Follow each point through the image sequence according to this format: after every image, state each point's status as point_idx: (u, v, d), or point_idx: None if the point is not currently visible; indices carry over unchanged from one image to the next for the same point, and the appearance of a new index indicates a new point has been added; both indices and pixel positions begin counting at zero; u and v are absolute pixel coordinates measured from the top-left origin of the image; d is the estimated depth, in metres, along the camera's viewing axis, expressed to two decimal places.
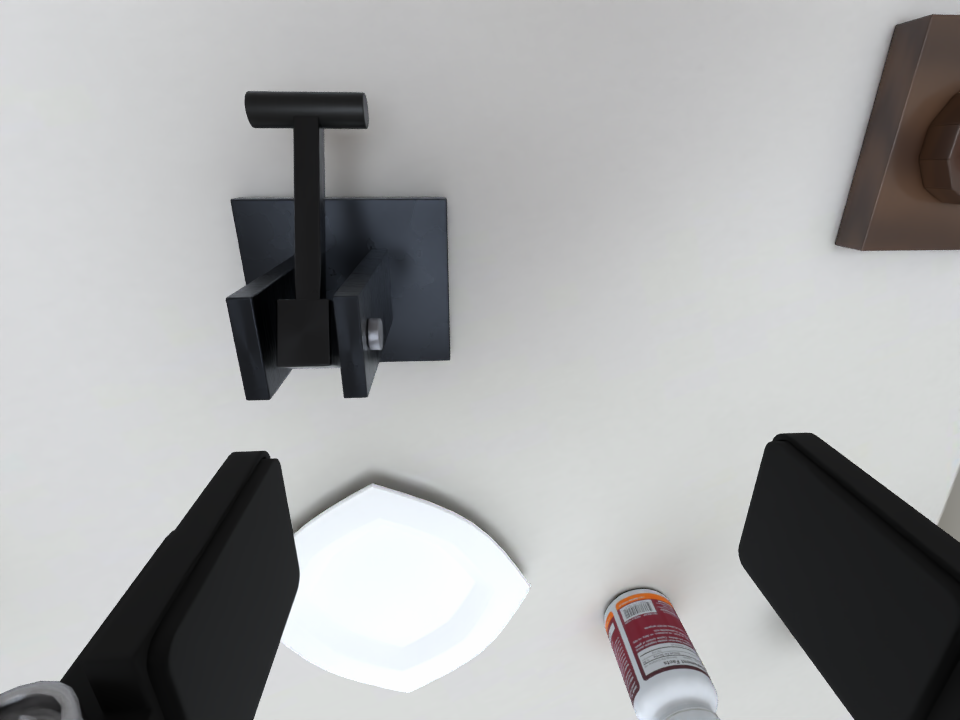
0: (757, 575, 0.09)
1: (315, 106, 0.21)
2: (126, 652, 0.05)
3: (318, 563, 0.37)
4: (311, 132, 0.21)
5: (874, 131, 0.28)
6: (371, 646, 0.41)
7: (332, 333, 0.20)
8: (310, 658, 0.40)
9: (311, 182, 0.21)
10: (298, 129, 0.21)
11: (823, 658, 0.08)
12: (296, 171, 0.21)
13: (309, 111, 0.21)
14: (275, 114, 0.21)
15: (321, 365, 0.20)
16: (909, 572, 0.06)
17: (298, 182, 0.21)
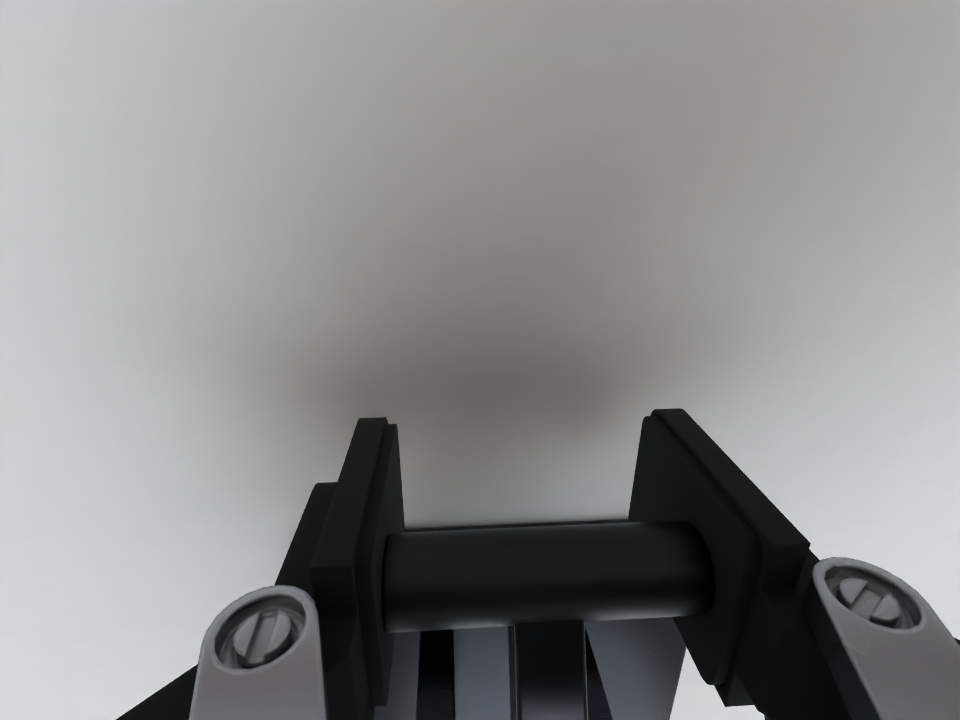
0: None
1: (583, 604, 0.07)
2: (341, 563, 0.06)
3: None
4: (567, 669, 0.07)
5: None
6: None
7: None
8: None
9: None
10: (529, 661, 0.07)
11: None
12: None
13: (563, 614, 0.07)
14: (466, 624, 0.07)
15: None
16: (720, 522, 0.07)
17: None
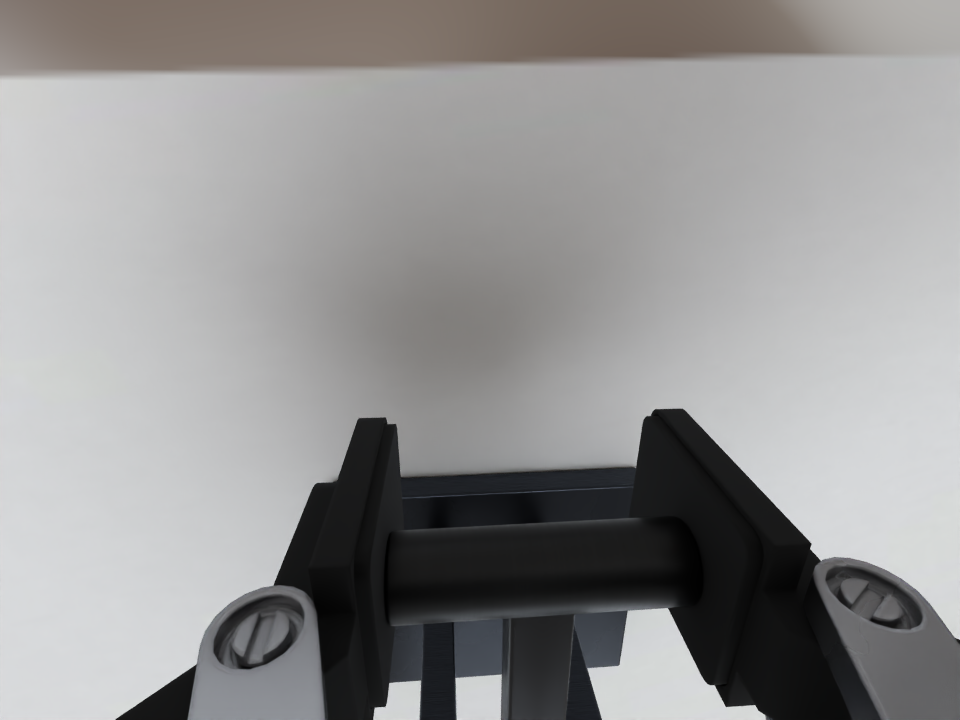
0: None
1: (576, 609, 0.08)
2: (340, 563, 0.06)
3: None
4: (555, 646, 0.08)
5: None
6: None
7: None
8: None
9: None
10: (522, 641, 0.08)
11: (676, 608, 0.09)
12: (514, 716, 0.09)
13: (556, 613, 0.08)
14: None
15: None
16: (721, 522, 0.07)
17: None
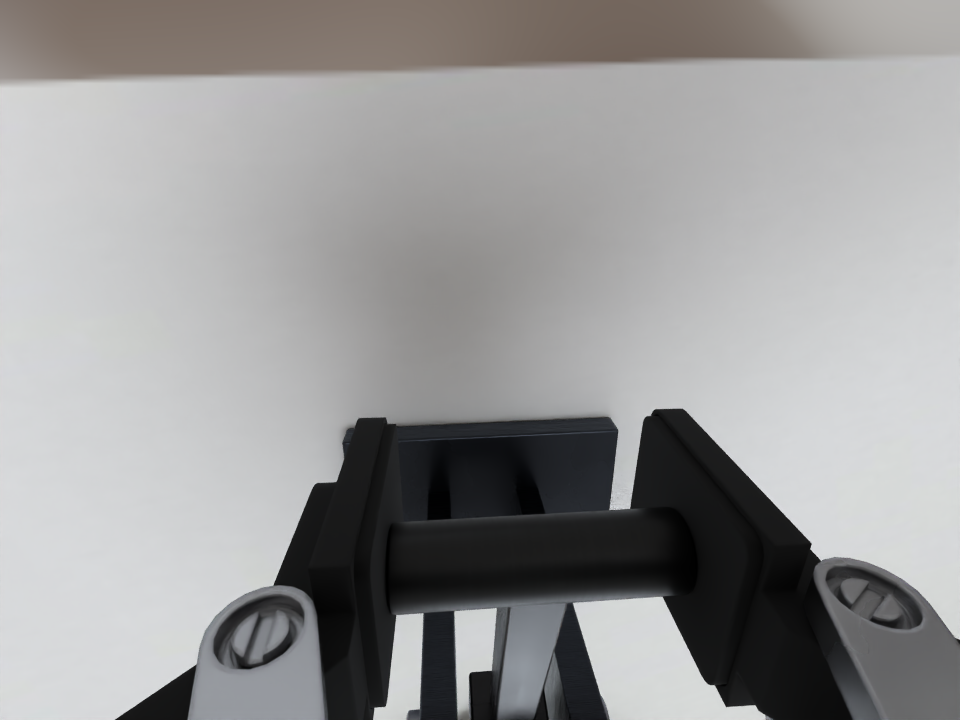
0: None
1: (570, 602, 0.08)
2: (340, 563, 0.06)
3: None
4: (548, 618, 0.09)
5: None
6: None
7: None
8: None
9: (536, 665, 0.10)
10: (518, 615, 0.09)
11: (676, 608, 0.09)
12: (507, 657, 0.10)
13: None
14: None
15: None
16: (721, 522, 0.07)
17: (509, 665, 0.10)
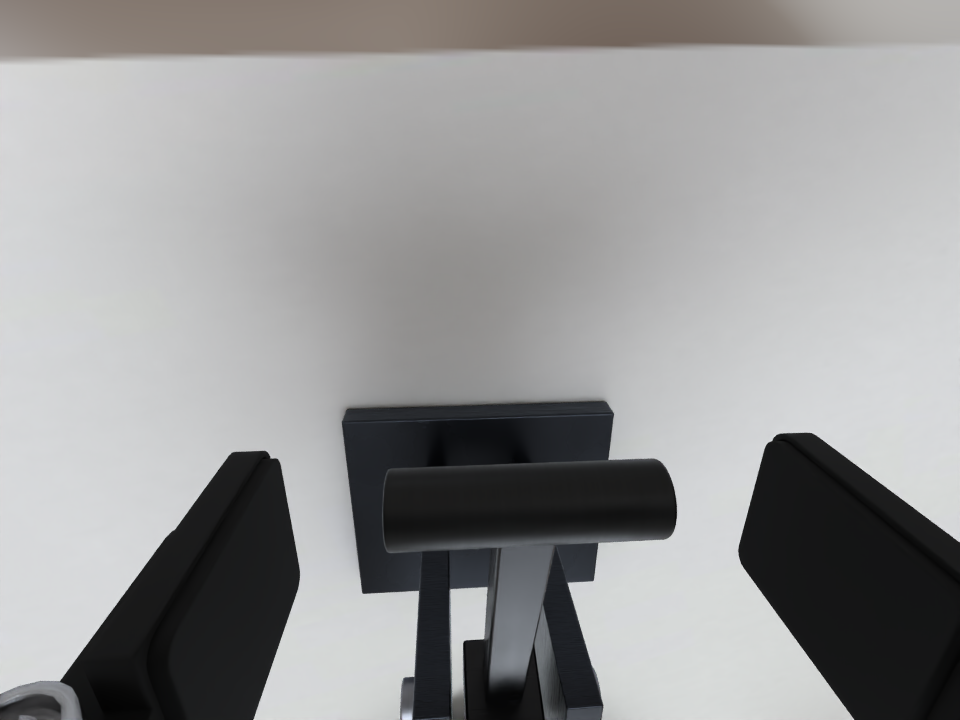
0: (757, 575, 0.09)
1: (557, 543, 0.08)
2: (126, 652, 0.05)
3: None
4: (536, 564, 0.09)
5: None
6: None
7: None
8: None
9: (526, 617, 0.11)
10: (507, 560, 0.09)
11: (823, 658, 0.08)
12: (498, 608, 0.10)
13: (539, 544, 0.09)
14: None
15: None
16: (909, 572, 0.06)
17: (500, 617, 0.11)
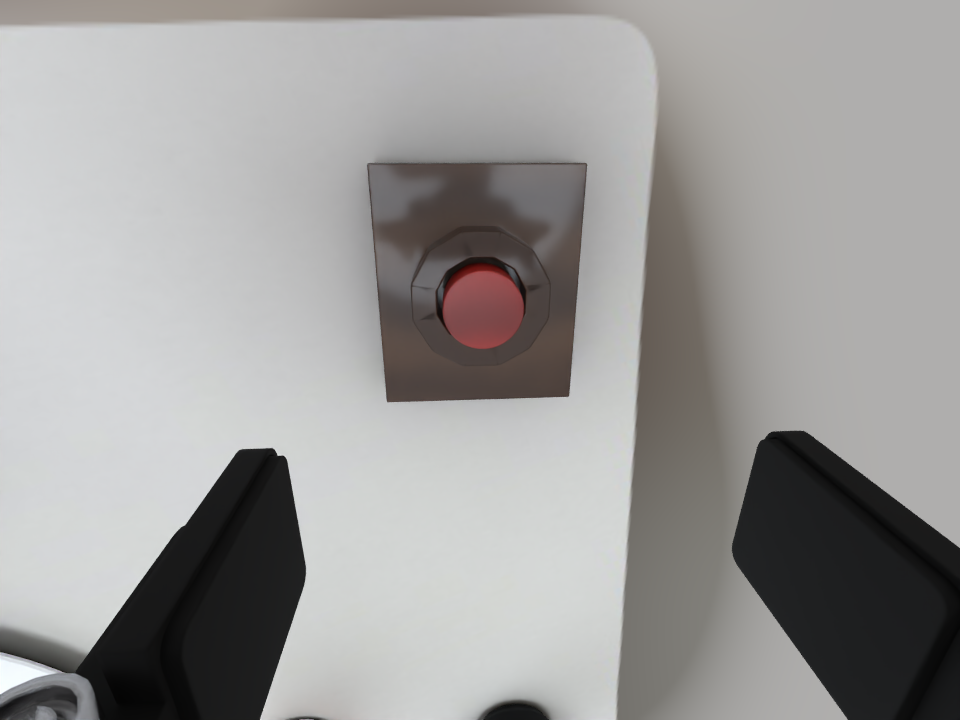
0: (750, 572, 0.10)
1: None
2: (140, 644, 0.05)
3: None
4: None
5: None
6: None
7: None
8: None
9: None
10: None
11: (814, 654, 0.08)
12: None
13: None
14: None
15: None
16: (897, 568, 0.06)
17: None
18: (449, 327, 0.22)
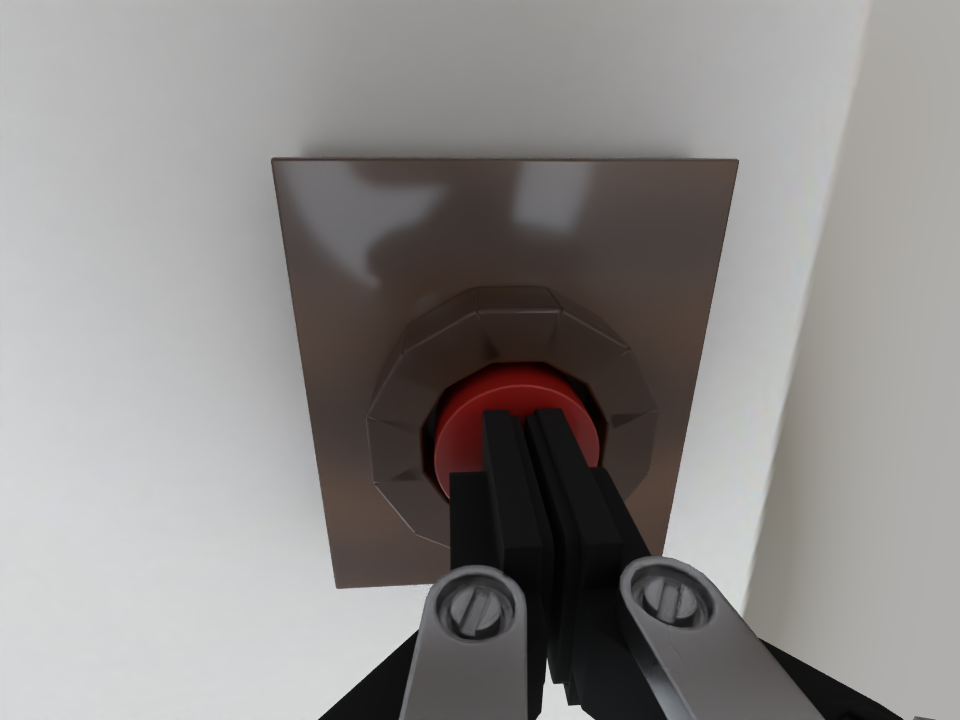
0: None
1: None
2: (530, 544, 0.06)
3: None
4: None
5: None
6: None
7: None
8: None
9: None
10: None
11: None
12: None
13: None
14: None
15: None
16: (556, 521, 0.07)
17: None
18: (448, 490, 0.11)
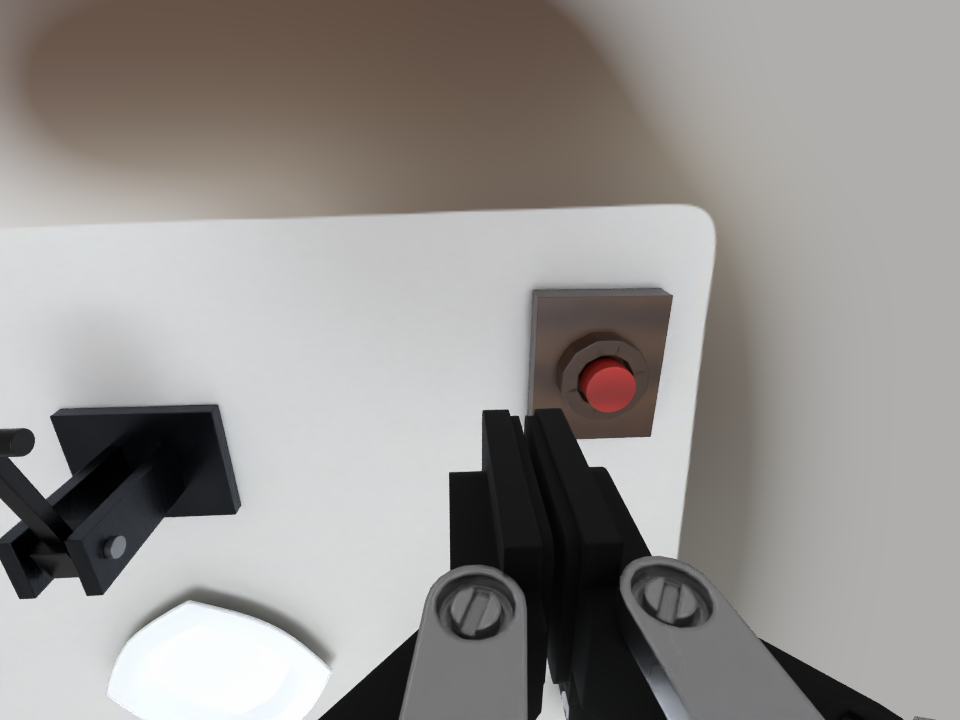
0: None
1: None
2: (530, 544, 0.06)
3: (157, 656, 0.47)
4: None
5: (531, 358, 0.38)
6: (212, 715, 0.51)
7: None
8: None
9: (9, 492, 0.27)
10: None
11: None
12: None
13: None
14: None
15: None
16: (556, 521, 0.07)
17: None
18: (589, 399, 0.35)
